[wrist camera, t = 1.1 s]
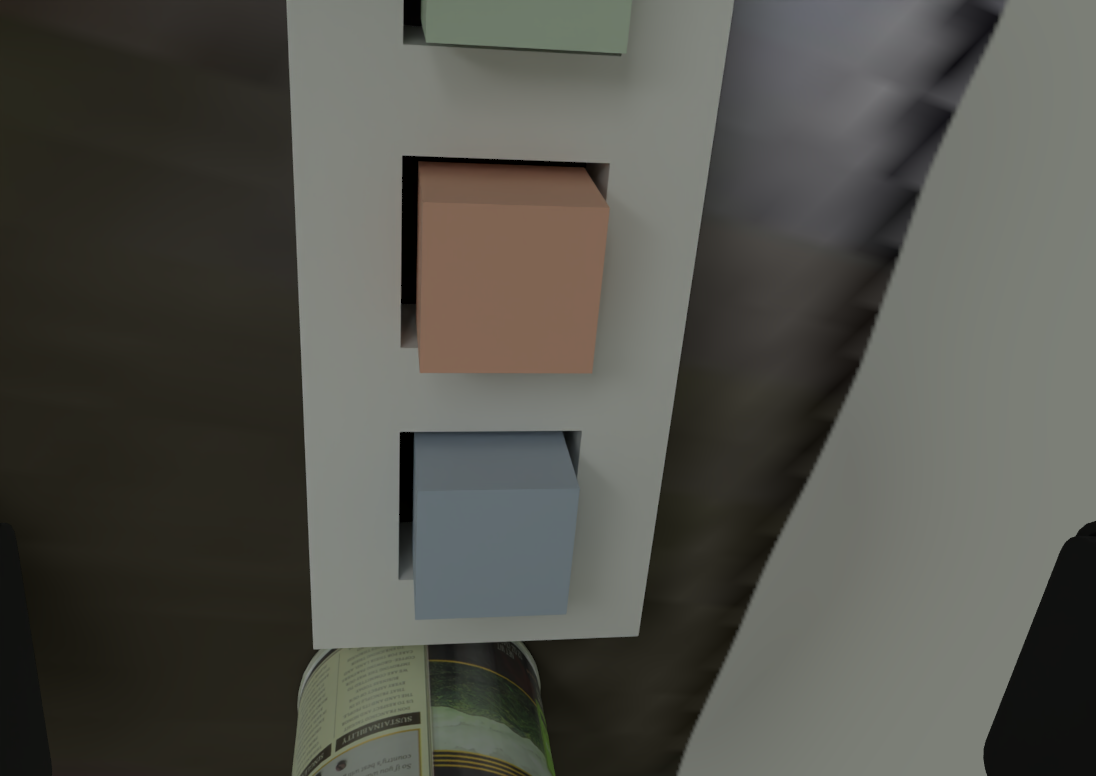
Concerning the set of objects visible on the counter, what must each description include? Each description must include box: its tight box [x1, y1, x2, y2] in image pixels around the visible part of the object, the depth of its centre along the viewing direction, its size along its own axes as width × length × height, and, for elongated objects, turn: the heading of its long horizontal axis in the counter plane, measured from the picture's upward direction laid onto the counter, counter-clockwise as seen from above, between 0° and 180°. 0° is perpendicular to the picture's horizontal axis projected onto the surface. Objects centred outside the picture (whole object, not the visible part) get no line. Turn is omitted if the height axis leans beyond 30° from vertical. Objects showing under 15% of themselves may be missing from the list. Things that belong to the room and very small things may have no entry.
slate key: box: [412, 431, 580, 620], centre depth 34 cm, size 5×5×4 cm
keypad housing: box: [286, 0, 734, 649], centre depth 32 cm, size 30×12×4 cm, turn 176°
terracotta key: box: [416, 161, 610, 373], centre depth 30 cm, size 5×5×4 cm
